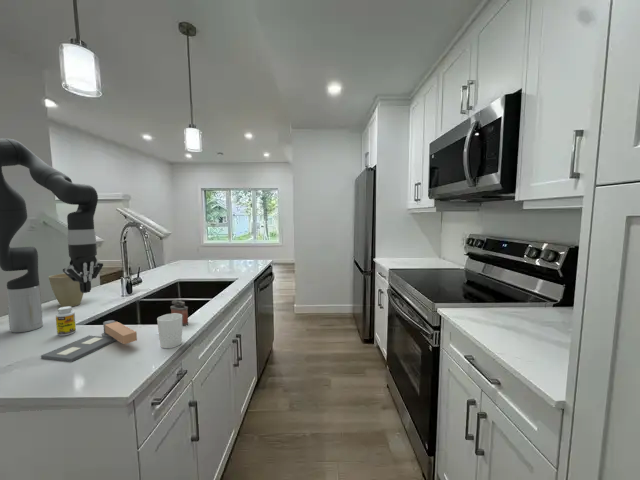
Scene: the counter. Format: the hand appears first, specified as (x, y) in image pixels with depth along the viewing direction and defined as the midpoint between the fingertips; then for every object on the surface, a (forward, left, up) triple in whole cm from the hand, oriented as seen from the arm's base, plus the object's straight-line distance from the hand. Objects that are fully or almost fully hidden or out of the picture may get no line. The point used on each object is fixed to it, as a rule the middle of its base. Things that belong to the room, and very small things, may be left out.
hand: (85, 292), depth 102 cm
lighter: (+18, +24, -19) cm, 36 cm away
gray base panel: (0, 0, -19) cm, 19 cm away
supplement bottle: (-19, +7, -19) cm, 28 cm away
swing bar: (+8, +4, -18) cm, 20 cm away
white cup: (+28, +6, -19) cm, 34 cm away
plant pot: (-55, +37, -19) cm, 69 cm away
